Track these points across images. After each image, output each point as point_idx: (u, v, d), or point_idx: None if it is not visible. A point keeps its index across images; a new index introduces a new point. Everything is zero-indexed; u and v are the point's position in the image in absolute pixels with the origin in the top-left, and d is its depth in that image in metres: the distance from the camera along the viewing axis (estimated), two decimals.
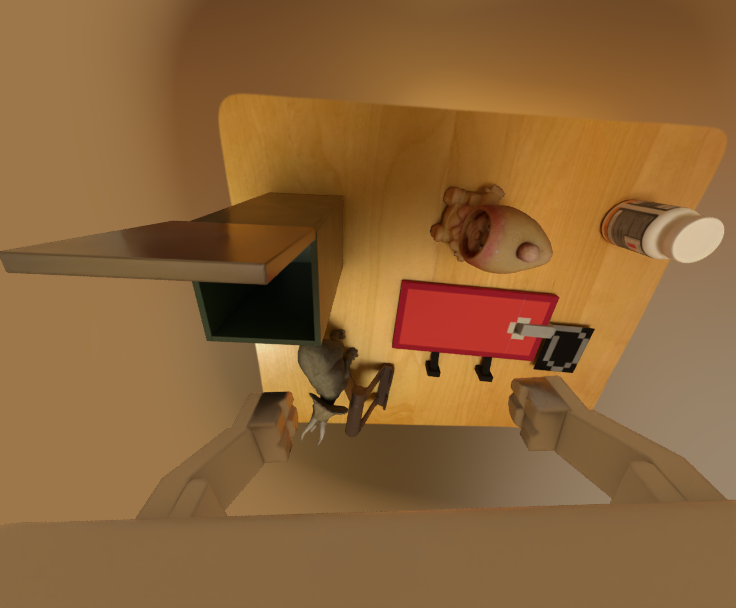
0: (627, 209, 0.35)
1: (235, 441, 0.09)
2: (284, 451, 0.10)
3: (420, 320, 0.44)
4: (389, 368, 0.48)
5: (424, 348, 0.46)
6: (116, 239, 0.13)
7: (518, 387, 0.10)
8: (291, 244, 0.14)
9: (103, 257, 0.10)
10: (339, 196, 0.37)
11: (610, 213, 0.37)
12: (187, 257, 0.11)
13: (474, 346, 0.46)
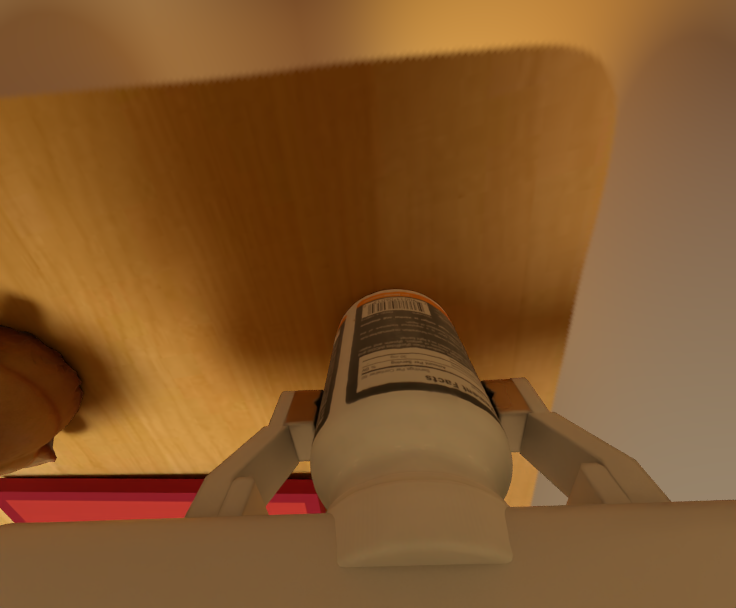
0: (340, 336, 0.12)
1: (274, 439, 0.09)
2: None
3: None
4: None
5: None
6: None
7: (485, 389, 0.10)
8: None
9: None
10: None
11: None
12: None
13: None
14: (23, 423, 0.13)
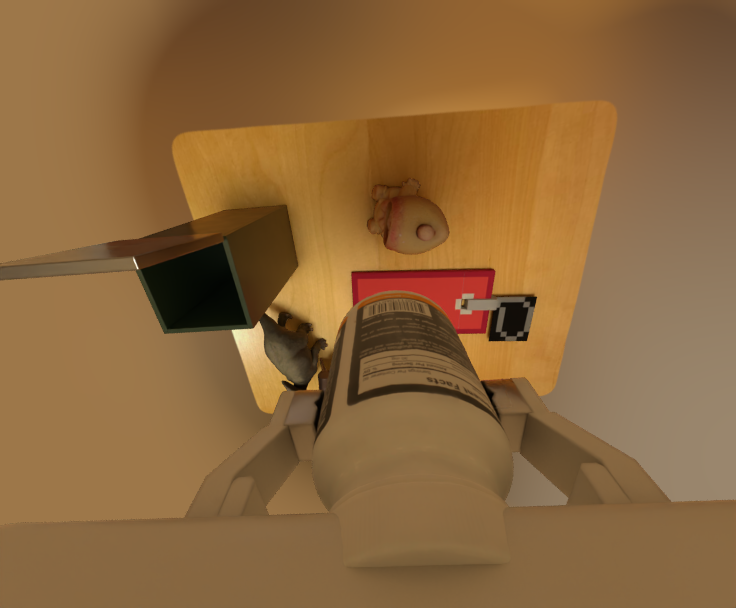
0: (341, 337, 0.12)
1: (274, 439, 0.09)
2: None
3: None
4: None
5: None
6: (57, 255, 0.19)
7: (485, 389, 0.10)
8: (177, 244, 0.20)
9: (36, 264, 0.16)
10: (282, 205, 0.43)
11: (338, 330, 0.14)
12: (89, 258, 0.17)
13: None
14: None
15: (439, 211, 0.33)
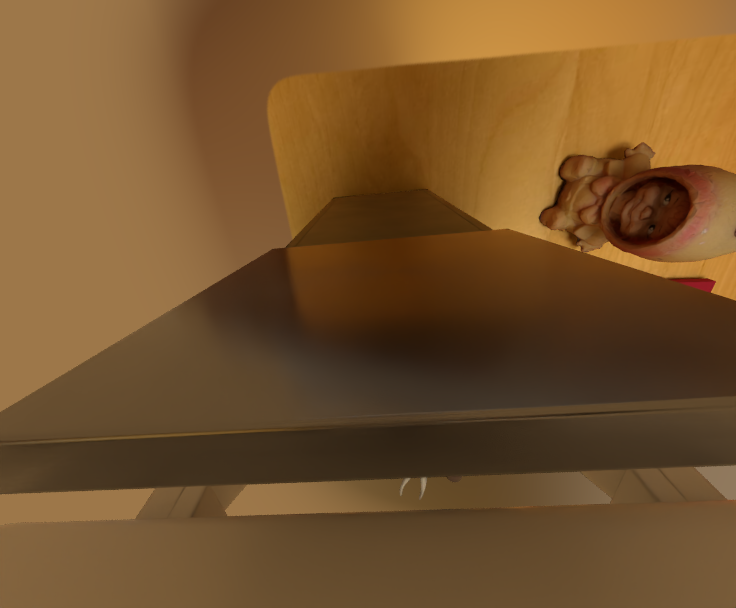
0: None
1: None
2: None
3: None
4: None
5: None
6: (246, 310, 0.06)
7: None
8: (632, 268, 0.06)
9: (319, 424, 0.03)
10: (423, 189, 0.29)
11: None
12: (601, 379, 0.03)
13: None
14: None
15: None
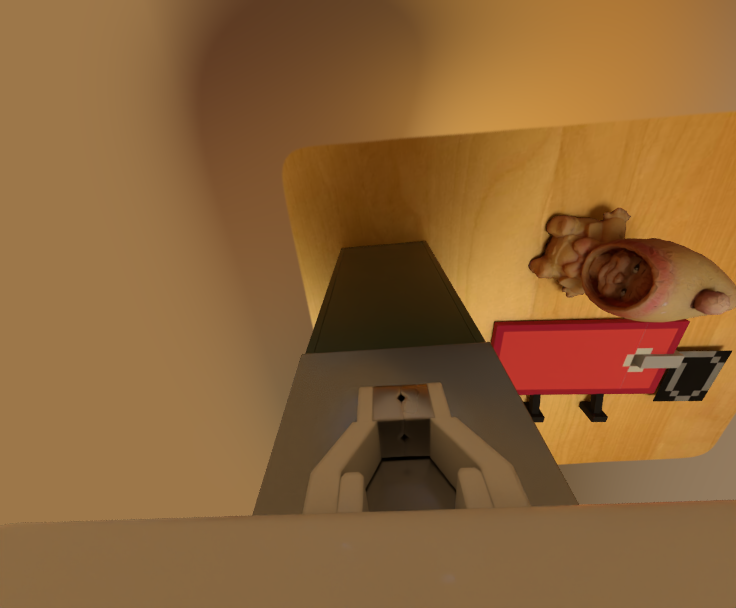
0: None
1: (368, 434, 0.09)
2: (404, 446, 0.10)
3: (518, 363, 0.38)
4: None
5: (522, 391, 0.40)
6: None
7: (400, 394, 0.10)
8: (554, 460, 0.09)
9: None
10: (423, 242, 0.32)
11: None
12: None
13: (582, 384, 0.39)
14: None
15: (717, 266, 0.22)
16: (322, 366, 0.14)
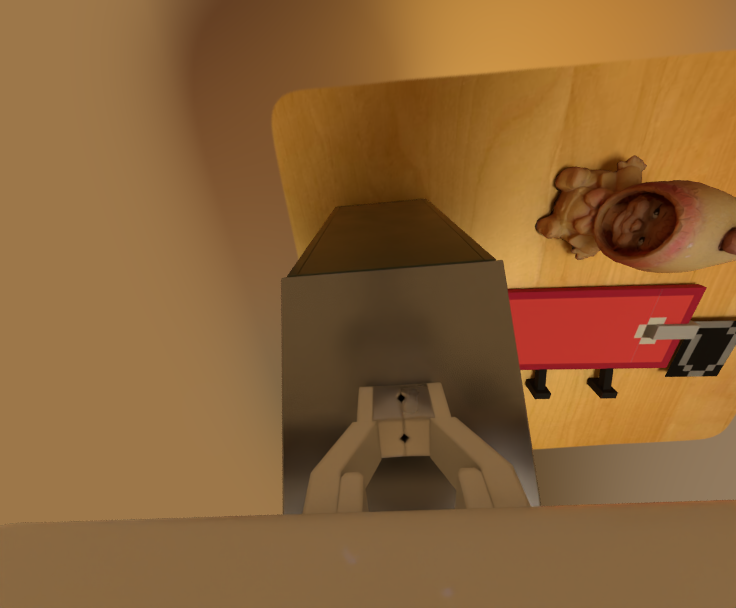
0: None
1: (368, 434, 0.09)
2: (404, 446, 0.10)
3: (523, 335, 0.36)
4: None
5: (528, 366, 0.38)
6: (327, 442, 0.11)
7: (400, 394, 0.10)
8: (525, 410, 0.11)
9: None
10: (423, 199, 0.30)
11: None
12: None
13: (591, 357, 0.37)
14: None
15: None
16: (309, 298, 0.12)
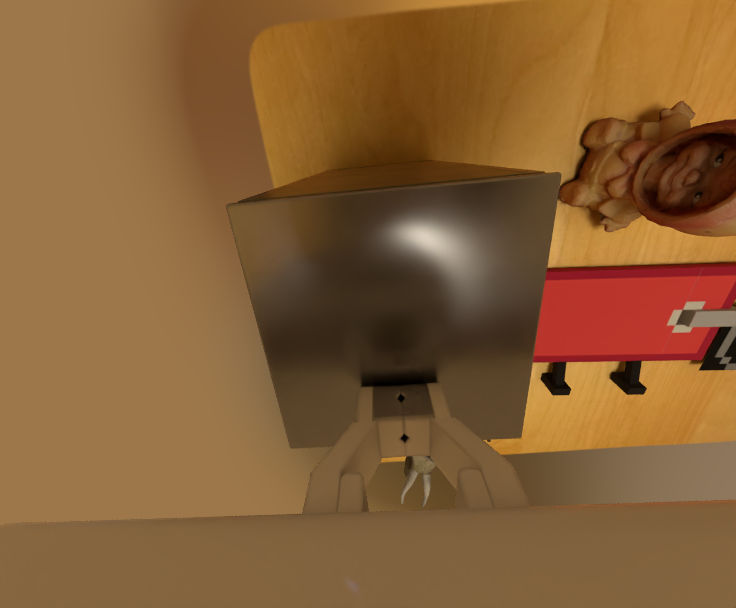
0: None
1: (368, 434, 0.09)
2: (404, 446, 0.10)
3: (541, 322, 0.32)
4: None
5: (545, 358, 0.34)
6: (321, 389, 0.11)
7: (400, 394, 0.10)
8: (532, 358, 0.10)
9: None
10: None
11: None
12: None
13: (616, 348, 0.33)
14: None
15: None
16: (274, 237, 0.09)
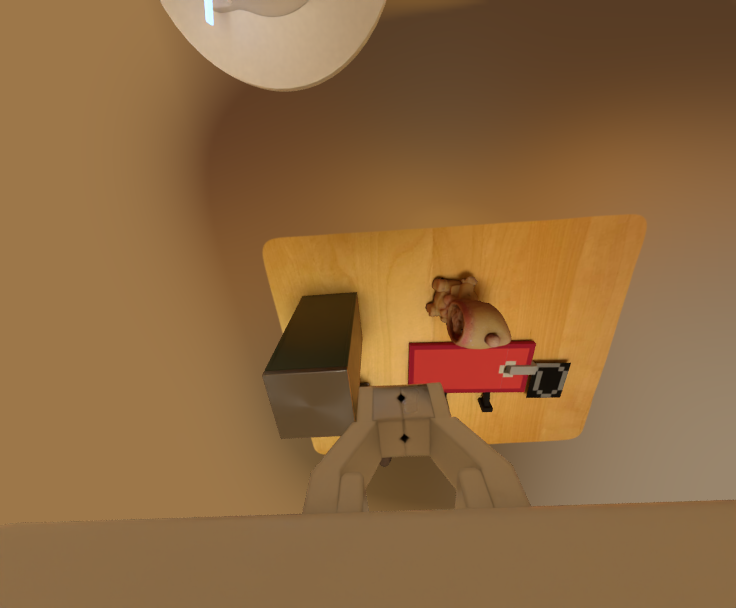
0: None
1: (368, 434, 0.09)
2: (404, 446, 0.10)
3: (427, 371, 0.56)
4: None
5: None
6: (290, 420, 0.35)
7: (400, 394, 0.10)
8: (352, 412, 0.34)
9: None
10: (354, 293, 0.49)
11: None
12: (332, 434, 0.36)
13: (473, 385, 0.57)
14: None
15: (502, 319, 0.40)
16: (274, 382, 0.33)
